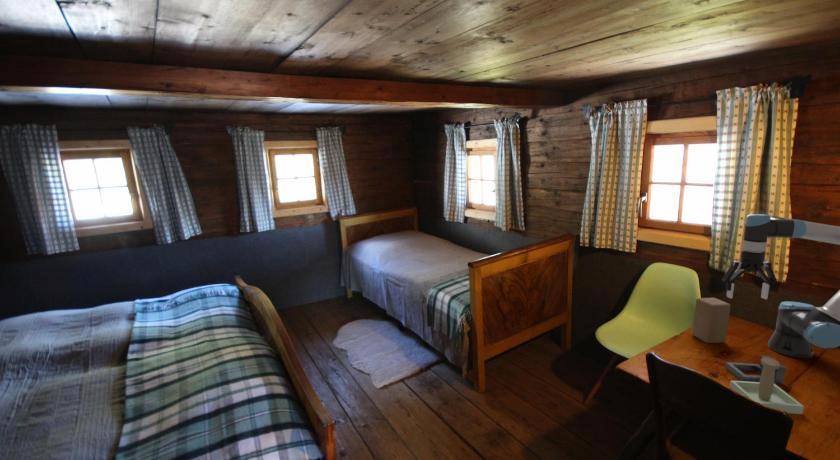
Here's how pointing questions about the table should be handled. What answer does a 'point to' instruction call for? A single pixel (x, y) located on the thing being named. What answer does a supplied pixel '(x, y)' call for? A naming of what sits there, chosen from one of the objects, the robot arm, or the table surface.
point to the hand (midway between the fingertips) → (746, 297)
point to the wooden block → (711, 320)
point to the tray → (777, 398)
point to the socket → (736, 368)
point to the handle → (767, 378)
